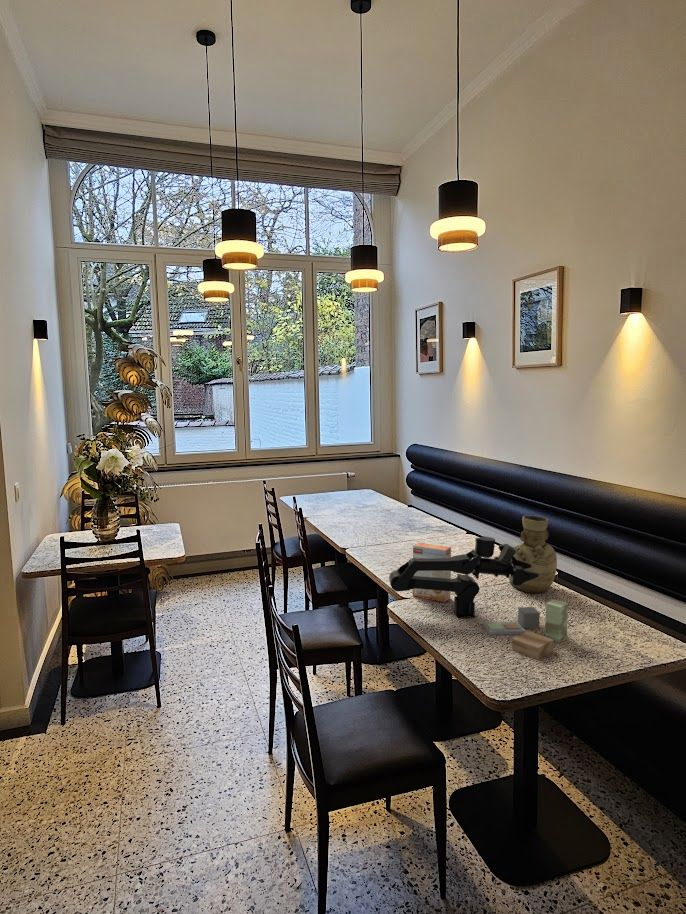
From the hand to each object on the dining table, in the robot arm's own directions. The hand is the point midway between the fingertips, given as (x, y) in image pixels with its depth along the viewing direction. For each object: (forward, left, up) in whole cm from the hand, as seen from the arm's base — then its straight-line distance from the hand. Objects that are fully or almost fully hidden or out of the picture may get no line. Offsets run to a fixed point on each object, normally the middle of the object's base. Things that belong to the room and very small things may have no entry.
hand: (534, 570), depth 212 cm
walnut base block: (-11, -28, -17) cm, 35 cm away
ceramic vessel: (+10, +27, -17) cm, 33 cm away
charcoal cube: (-5, -9, -17) cm, 20 cm away
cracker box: (-33, +20, -17) cm, 42 cm away
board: (-15, -12, -17) cm, 26 cm away
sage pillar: (0, -20, -17) cm, 26 cm away
